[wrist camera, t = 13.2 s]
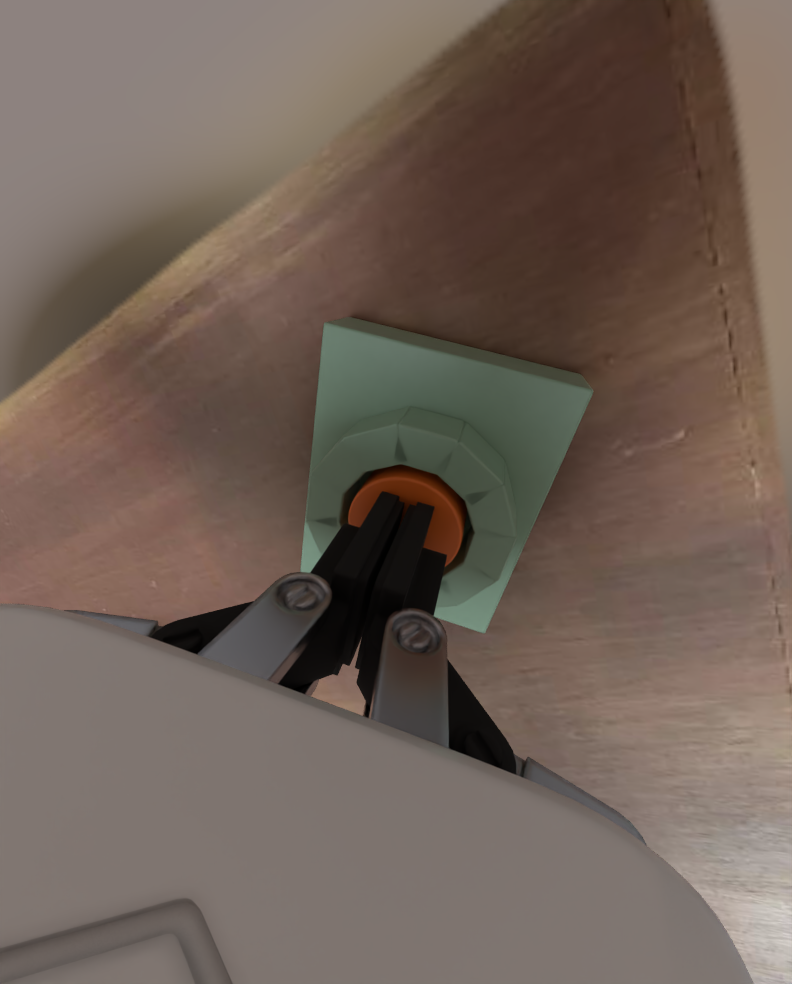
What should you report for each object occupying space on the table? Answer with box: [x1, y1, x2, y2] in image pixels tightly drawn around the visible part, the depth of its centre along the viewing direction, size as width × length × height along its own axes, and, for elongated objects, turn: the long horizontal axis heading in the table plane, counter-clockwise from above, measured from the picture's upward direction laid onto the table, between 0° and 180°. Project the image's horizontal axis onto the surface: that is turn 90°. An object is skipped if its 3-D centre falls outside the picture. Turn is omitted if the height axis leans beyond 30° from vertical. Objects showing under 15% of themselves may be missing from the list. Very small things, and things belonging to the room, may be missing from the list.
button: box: [348, 464, 467, 567], centre depth 13 cm, size 4×4×2 cm
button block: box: [300, 317, 593, 633], centre depth 14 cm, size 10×8×4 cm
